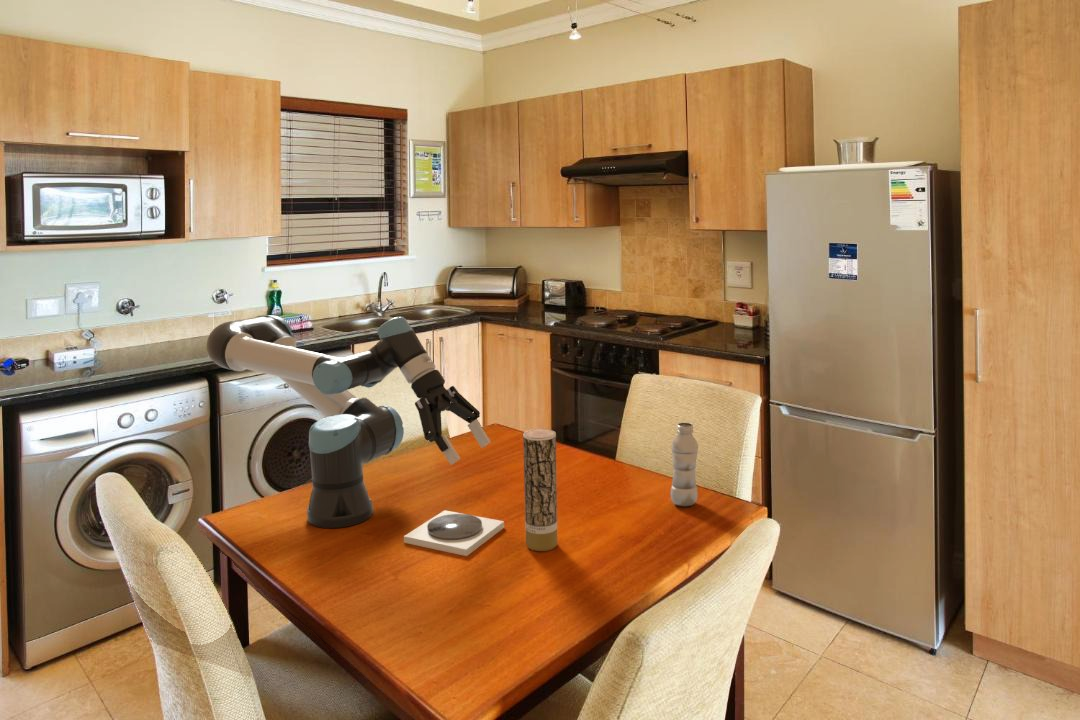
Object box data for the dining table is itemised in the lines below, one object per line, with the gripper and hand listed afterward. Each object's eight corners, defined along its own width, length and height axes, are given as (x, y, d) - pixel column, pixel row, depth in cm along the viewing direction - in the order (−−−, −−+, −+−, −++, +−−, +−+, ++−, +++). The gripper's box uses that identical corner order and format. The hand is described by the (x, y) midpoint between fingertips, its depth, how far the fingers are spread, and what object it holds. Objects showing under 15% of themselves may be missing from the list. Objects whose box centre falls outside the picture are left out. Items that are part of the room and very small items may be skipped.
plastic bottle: (700, 501, 186) (702, 422, 182) (693, 511, 180) (695, 429, 176) (674, 497, 189) (675, 419, 185) (666, 507, 183) (668, 426, 179)
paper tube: (554, 553, 159) (552, 438, 155) (522, 551, 161) (519, 437, 156) (559, 540, 166) (558, 429, 161) (529, 538, 167) (526, 428, 162)
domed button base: (404, 542, 166) (403, 531, 166) (445, 516, 180) (444, 506, 180) (466, 556, 159) (466, 545, 158) (504, 527, 173) (503, 517, 172)
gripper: (401, 379, 167) (452, 461, 165) (462, 358, 189) (508, 431, 187) (380, 396, 171) (430, 477, 168) (442, 374, 192) (487, 445, 190)
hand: (471, 453), depth 177 cm, fingers open, 13 cm apart
